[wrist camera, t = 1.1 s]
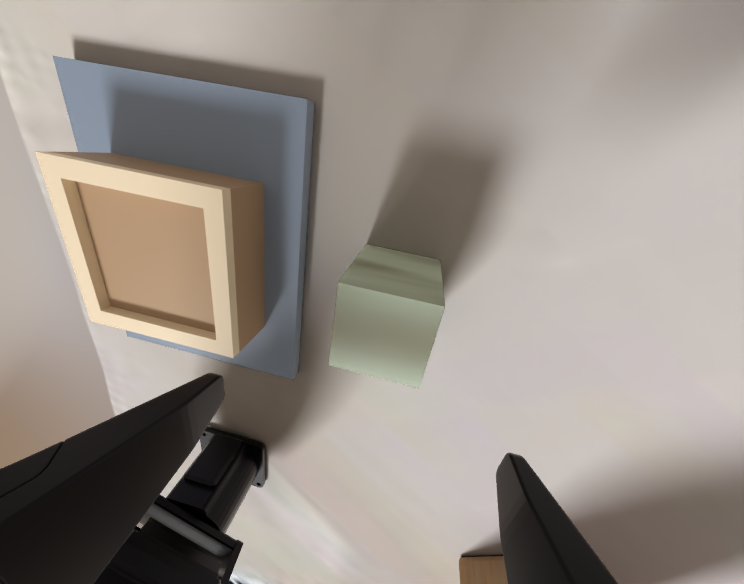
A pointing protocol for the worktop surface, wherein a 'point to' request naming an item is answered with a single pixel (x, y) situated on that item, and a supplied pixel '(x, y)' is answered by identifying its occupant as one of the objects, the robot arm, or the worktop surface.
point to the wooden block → (482, 570)
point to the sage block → (387, 315)
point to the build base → (219, 149)
